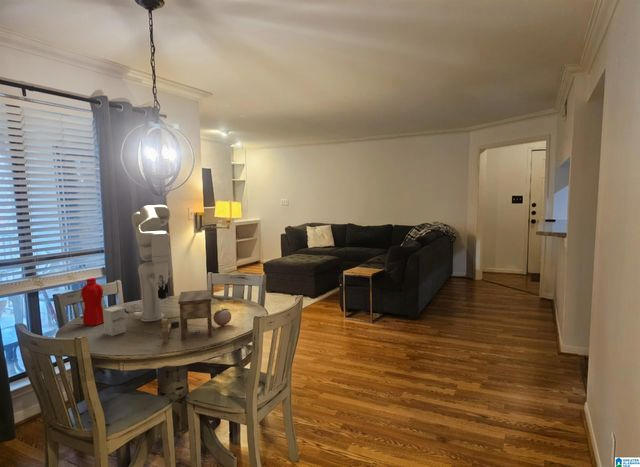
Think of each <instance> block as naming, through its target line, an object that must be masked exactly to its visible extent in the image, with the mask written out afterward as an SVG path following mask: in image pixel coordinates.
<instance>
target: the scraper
mask: <svg viewBox="0 0 640 467" xmlns="http://www.w3.org/2000/svg"><path fill="white" fill-rule="evenodd" d="M178 327H180V321H179V320H177V321H169V319H168V317H166V318H165V317H164V318H162V319H161V322H160V329H162V331H161V332H162V333H161V334H162V344H166V343H170V342H169V341H170V338H169V337H170V332H171V329H172V328H178Z"/></svg>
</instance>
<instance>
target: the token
mask: <svg viewBox="0 0 640 467" xmlns="http://www.w3.org/2000/svg"><path fill="white" fill-rule="evenodd" d="M200 333H201V330H198V329H195V330H192V331H190V335H192V336H194V335H199V334H200Z"/></svg>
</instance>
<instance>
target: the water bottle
mask: <svg viewBox="0 0 640 467" xmlns="http://www.w3.org/2000/svg"><path fill="white" fill-rule="evenodd" d="M103 294H104V289H103V287H102V285H101V284H99V283H97V279H96V277H90V278H87V279H86V284H85V285H84V286H83V287H82V288H81V291H80V296H81V299H82V301H83V304H84V305H83V306H84V308H83V309H84V310H83V316H82V321H83V325H84V326H90V327H94V325H96V326H99V325H100V324H104V323H103V322H104V319H103V310H104V308H103V306H102V301H103V300H102V299H103Z"/></svg>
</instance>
